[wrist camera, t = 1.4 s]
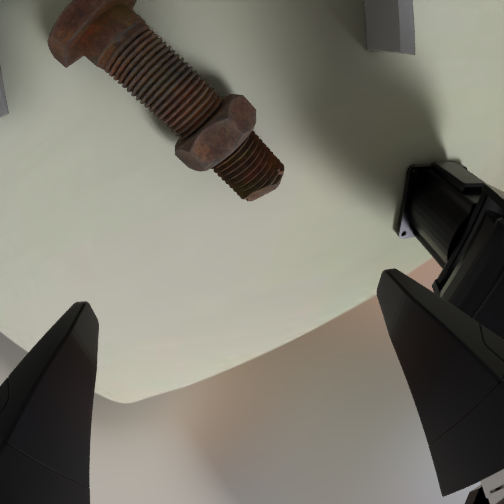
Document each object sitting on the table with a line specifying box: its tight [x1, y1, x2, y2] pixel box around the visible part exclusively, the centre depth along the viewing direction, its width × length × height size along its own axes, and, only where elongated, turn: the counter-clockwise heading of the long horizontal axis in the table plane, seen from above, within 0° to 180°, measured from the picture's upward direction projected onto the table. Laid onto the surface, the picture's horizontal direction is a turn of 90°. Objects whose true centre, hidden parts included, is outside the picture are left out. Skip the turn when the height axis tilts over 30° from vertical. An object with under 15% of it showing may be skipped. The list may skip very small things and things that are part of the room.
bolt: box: [48, 0, 284, 201], centre depth 14 cm, size 6×5×15 cm
